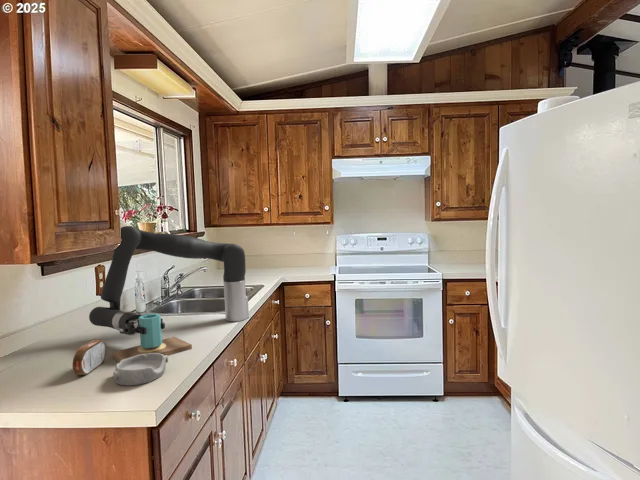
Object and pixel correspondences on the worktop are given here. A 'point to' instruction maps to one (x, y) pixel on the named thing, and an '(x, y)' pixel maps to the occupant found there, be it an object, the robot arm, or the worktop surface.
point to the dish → (140, 369)
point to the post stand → (154, 349)
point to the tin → (89, 357)
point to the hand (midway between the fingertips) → (154, 328)
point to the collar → (151, 330)
